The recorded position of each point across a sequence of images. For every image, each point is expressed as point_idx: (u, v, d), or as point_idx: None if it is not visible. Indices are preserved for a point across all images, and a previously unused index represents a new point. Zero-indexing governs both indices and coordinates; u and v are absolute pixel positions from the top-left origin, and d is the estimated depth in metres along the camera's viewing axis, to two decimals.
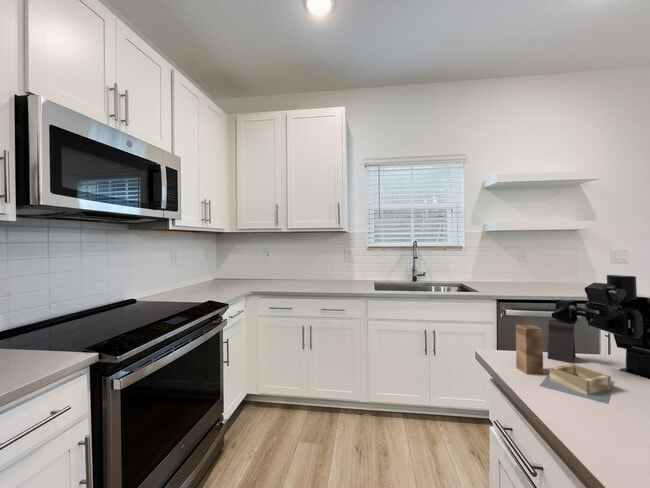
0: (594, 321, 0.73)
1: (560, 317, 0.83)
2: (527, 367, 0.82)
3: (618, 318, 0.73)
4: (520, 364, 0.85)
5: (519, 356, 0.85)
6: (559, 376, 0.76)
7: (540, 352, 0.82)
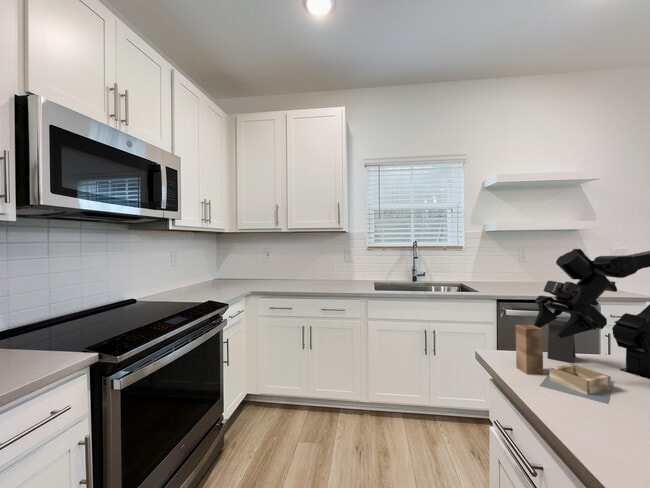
0: (560, 333, 0.80)
1: (543, 323, 0.89)
2: (527, 367, 0.82)
3: (578, 318, 0.78)
4: (520, 364, 0.85)
5: (519, 356, 0.85)
6: (559, 376, 0.76)
7: (540, 352, 0.82)
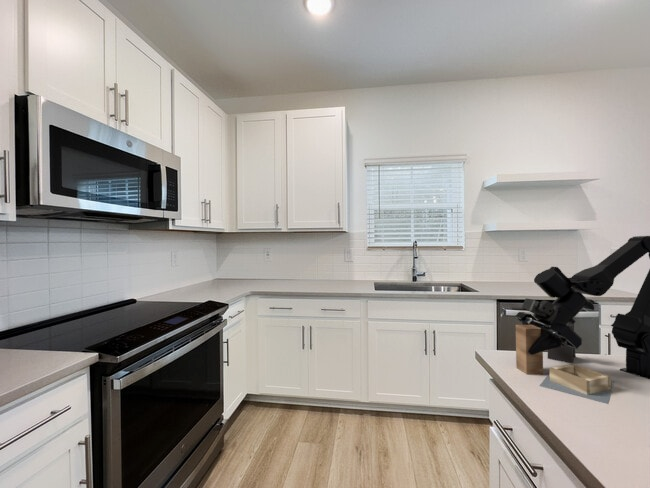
0: (531, 350, 0.82)
1: None
2: (527, 367, 0.82)
3: (548, 335, 0.80)
4: (520, 364, 0.85)
5: (519, 356, 0.85)
6: (559, 376, 0.76)
7: (540, 352, 0.82)
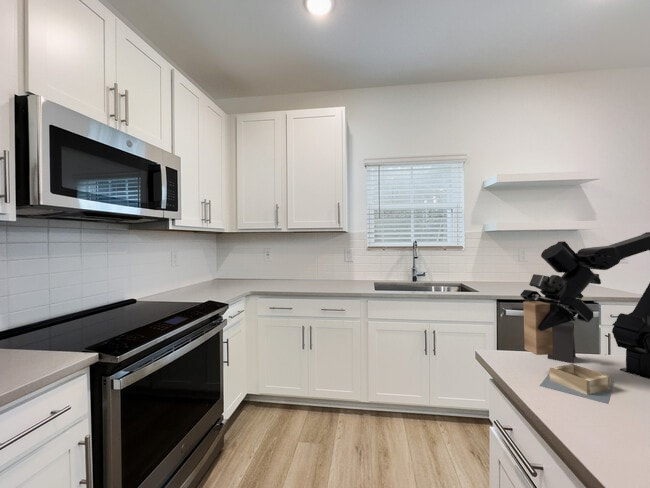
0: (541, 326, 0.80)
1: None
2: (537, 343, 0.80)
3: (558, 310, 0.79)
4: (529, 341, 0.83)
5: (527, 333, 0.84)
6: (559, 376, 0.76)
7: (549, 328, 0.81)
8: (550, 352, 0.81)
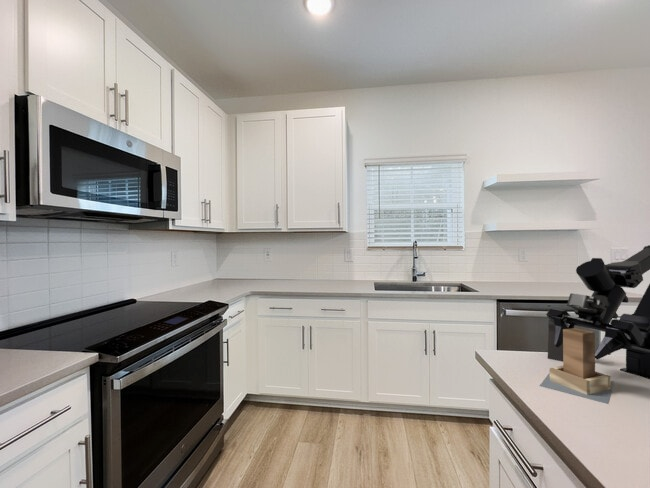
0: (598, 354, 0.71)
1: (562, 340, 0.81)
2: (583, 376, 0.73)
3: (615, 336, 0.71)
4: (571, 373, 0.76)
5: (569, 364, 0.76)
6: (559, 376, 0.76)
7: (593, 359, 0.75)
8: None
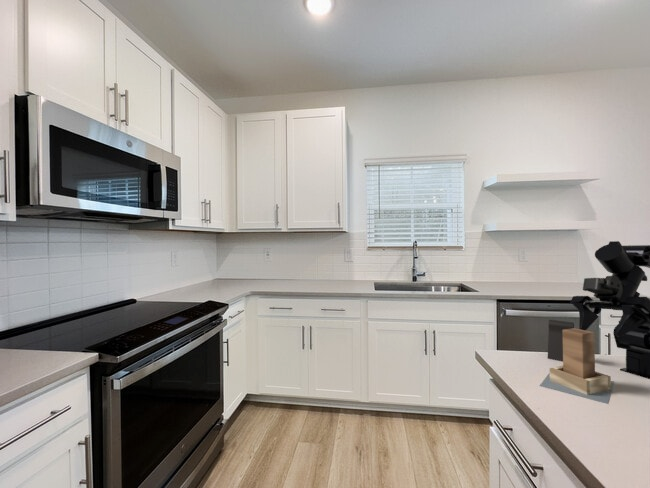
0: (618, 331, 0.75)
1: (587, 324, 0.84)
2: (583, 377, 0.73)
3: (632, 312, 0.74)
4: None
5: (568, 365, 0.76)
6: (559, 376, 0.76)
7: (592, 359, 0.75)
8: None
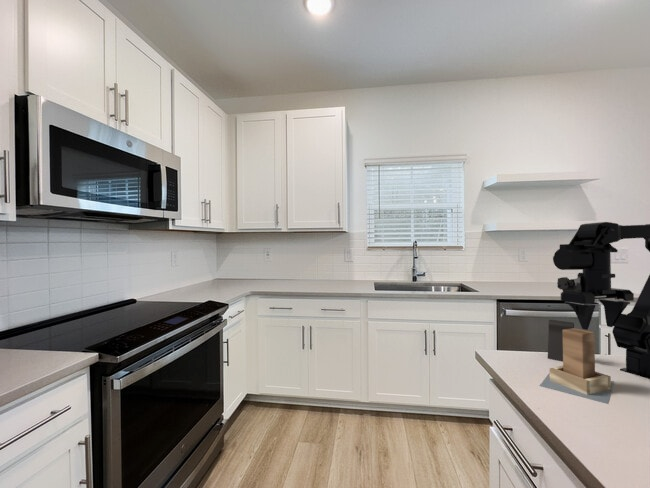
0: (581, 325, 0.82)
1: (612, 317, 0.83)
2: (583, 377, 0.73)
3: (574, 305, 0.82)
4: None
5: (568, 365, 0.76)
6: (559, 376, 0.76)
7: (592, 359, 0.75)
8: None
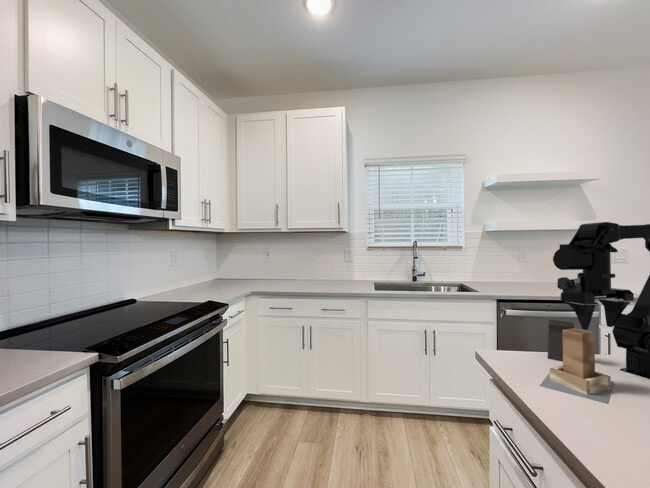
0: (581, 325, 0.82)
1: (612, 317, 0.83)
2: (583, 377, 0.73)
3: (574, 305, 0.82)
4: None
5: (568, 365, 0.76)
6: (559, 376, 0.76)
7: (592, 359, 0.75)
8: None
